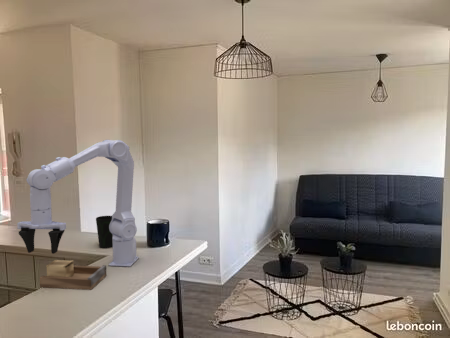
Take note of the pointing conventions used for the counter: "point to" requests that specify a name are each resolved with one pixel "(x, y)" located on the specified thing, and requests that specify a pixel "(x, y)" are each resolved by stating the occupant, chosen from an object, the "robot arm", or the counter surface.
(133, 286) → the counter surface
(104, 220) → the cup
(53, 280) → the bay
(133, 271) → the counter surface
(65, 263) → the box
